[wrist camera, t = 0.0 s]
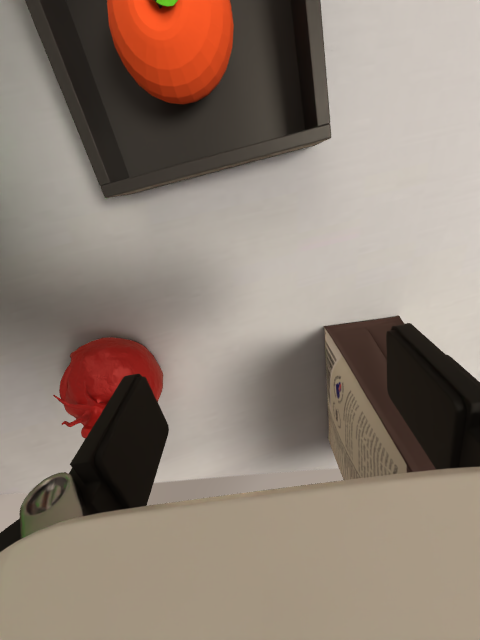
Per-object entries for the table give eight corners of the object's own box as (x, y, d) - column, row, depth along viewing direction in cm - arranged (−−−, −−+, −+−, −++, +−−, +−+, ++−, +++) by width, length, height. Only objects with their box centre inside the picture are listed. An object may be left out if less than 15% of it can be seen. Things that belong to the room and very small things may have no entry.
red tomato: (164, 324, 30) (132, 381, 22) (175, 399, 34) (153, 471, 26) (69, 325, 30) (2, 382, 22) (93, 399, 35) (44, 470, 26)
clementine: (160, -71, 17) (110, -218, 11) (262, 3, 19) (270, -88, 12) (120, 79, 20) (62, 36, 14) (209, 134, 22) (193, 116, 15)
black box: (30, -76, 18) (-39, -156, 13) (282, -177, 16) (295, -306, 12) (129, 194, 24) (104, 198, 20) (315, 145, 23) (331, 138, 18)
